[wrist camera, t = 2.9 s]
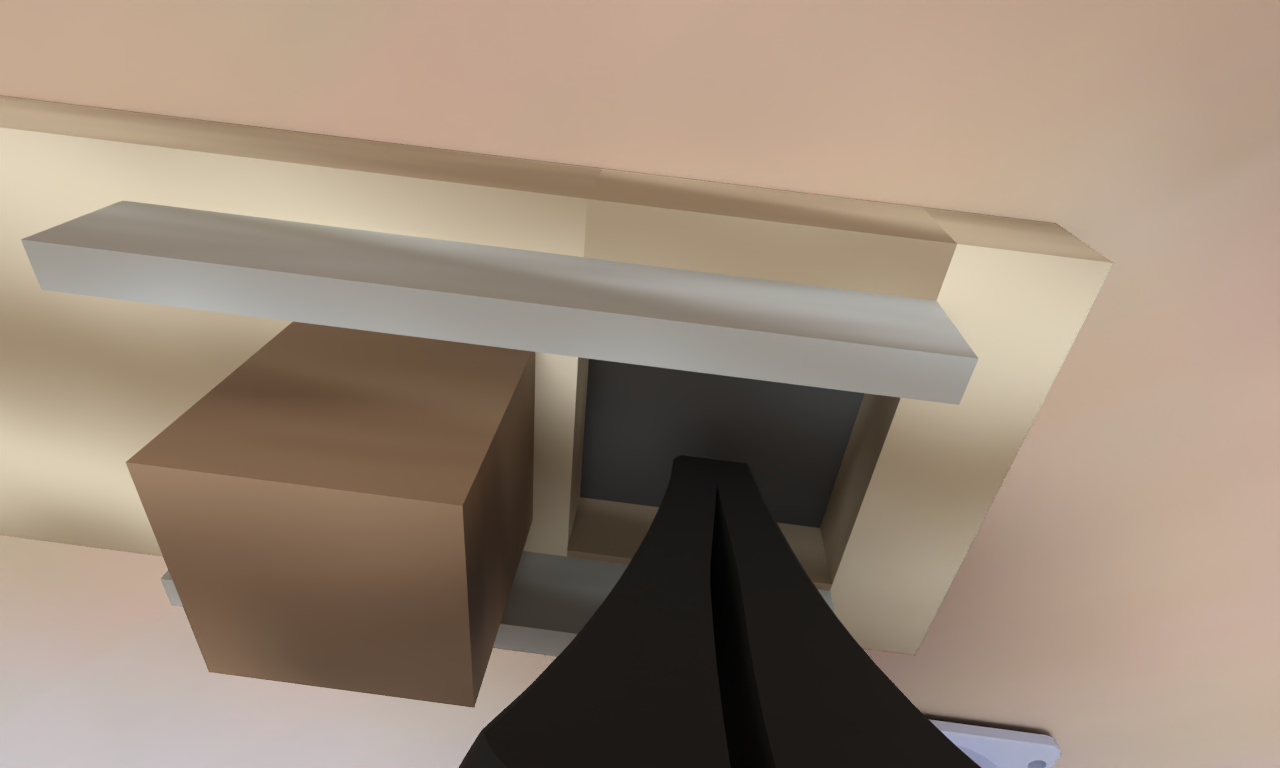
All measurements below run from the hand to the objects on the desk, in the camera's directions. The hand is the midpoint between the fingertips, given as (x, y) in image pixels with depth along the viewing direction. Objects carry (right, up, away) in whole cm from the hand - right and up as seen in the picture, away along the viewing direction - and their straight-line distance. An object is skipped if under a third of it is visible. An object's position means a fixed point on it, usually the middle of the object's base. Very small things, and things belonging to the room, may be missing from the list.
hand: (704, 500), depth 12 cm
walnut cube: (-6, +1, +1) cm, 6 cm away
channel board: (-6, +2, +3) cm, 7 cm away
